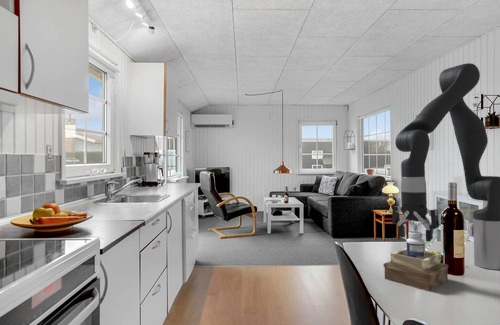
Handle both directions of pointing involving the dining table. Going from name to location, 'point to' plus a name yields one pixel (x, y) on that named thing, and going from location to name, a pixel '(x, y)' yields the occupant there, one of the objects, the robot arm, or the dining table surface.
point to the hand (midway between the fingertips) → (415, 239)
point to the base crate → (417, 276)
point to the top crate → (415, 260)
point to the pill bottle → (415, 245)
